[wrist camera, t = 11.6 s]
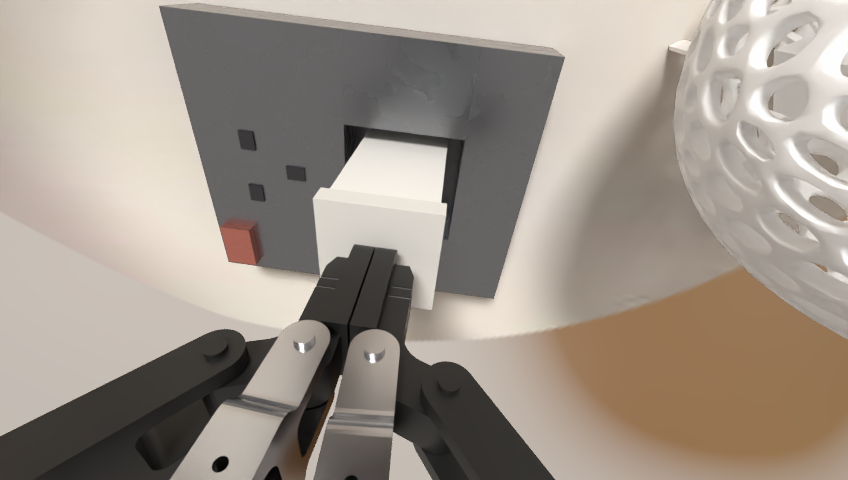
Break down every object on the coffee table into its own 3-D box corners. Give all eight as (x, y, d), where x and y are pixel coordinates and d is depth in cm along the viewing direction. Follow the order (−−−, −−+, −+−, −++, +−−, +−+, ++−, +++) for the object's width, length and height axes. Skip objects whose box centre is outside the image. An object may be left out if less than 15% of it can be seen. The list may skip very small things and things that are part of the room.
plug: (366, 198, 21) (322, 295, 14) (366, 123, 18) (312, 198, 12) (442, 208, 21) (431, 310, 14) (452, 133, 18) (446, 215, 12)
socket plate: (249, 238, 24) (224, 267, 21) (196, 3, 16) (149, 6, 14) (491, 271, 24) (494, 304, 21) (552, 47, 16) (567, 59, 14)
